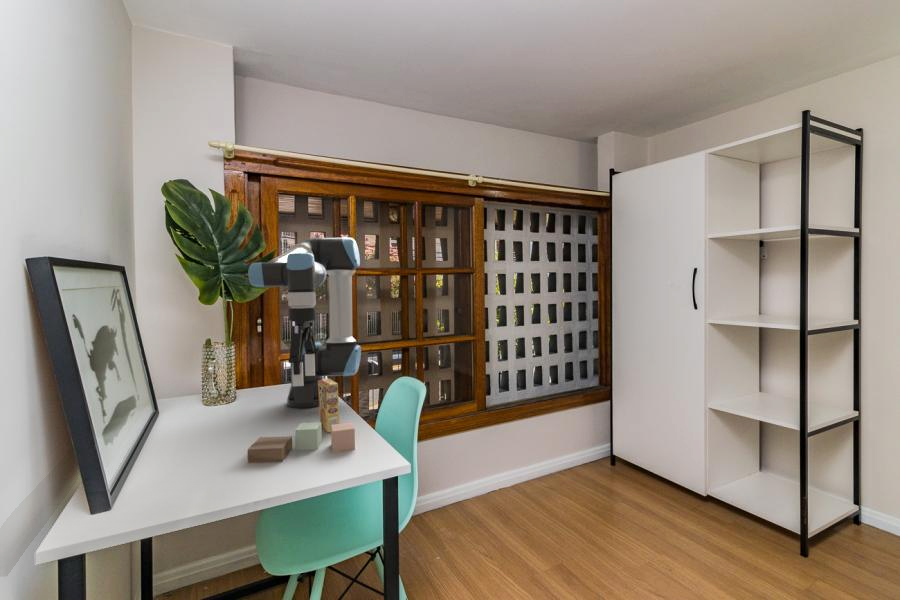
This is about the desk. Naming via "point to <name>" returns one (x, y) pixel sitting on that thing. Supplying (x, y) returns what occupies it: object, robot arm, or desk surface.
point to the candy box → (328, 403)
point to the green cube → (308, 436)
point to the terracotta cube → (342, 437)
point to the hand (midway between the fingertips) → (304, 380)
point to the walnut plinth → (270, 449)
